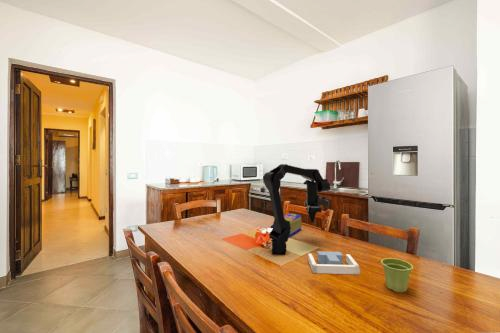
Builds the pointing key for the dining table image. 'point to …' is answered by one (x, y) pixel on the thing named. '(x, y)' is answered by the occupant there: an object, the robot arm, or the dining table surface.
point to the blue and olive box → (293, 223)
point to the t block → (330, 258)
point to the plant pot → (396, 274)
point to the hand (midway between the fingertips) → (312, 222)
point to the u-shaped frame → (335, 266)
